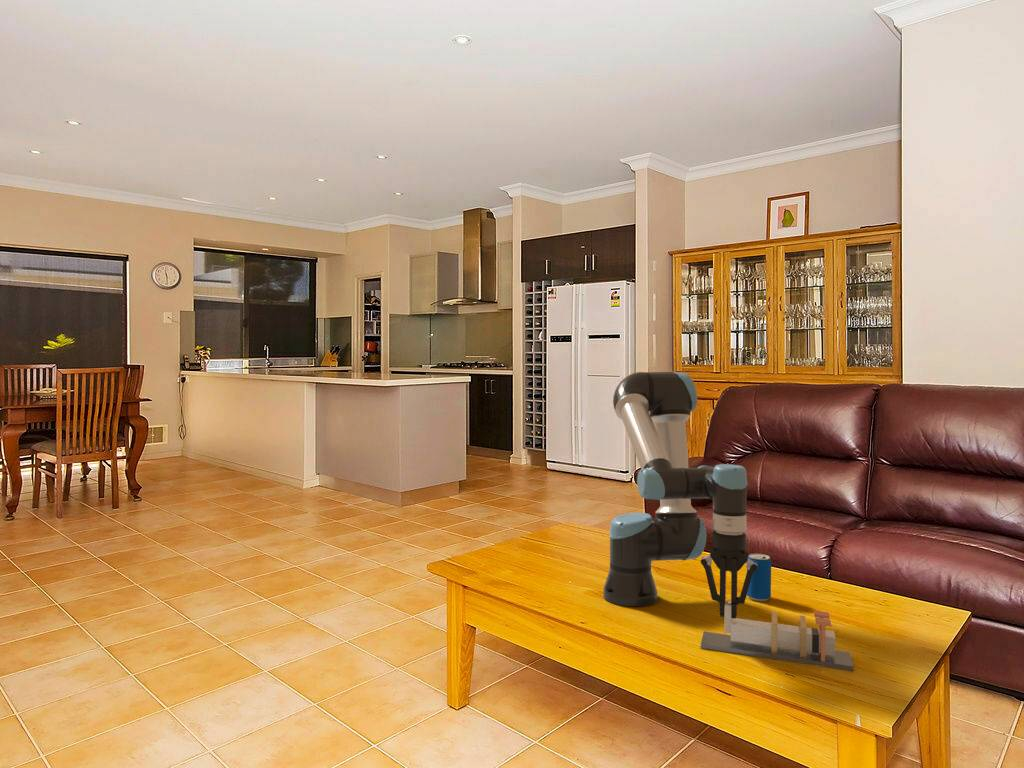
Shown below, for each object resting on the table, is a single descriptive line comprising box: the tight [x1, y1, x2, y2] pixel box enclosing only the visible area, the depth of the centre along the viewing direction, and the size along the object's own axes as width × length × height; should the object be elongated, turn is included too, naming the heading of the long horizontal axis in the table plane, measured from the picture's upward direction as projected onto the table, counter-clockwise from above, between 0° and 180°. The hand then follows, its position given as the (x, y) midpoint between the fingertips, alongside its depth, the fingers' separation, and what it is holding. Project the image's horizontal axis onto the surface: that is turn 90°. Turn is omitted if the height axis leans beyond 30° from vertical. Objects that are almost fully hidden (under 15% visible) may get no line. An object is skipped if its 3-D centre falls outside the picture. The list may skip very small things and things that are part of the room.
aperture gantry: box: [813, 610, 832, 661], centre depth 152 cm, size 3×7×9 cm, turn 159°
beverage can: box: [746, 553, 772, 602], centre depth 192 cm, size 6×6×12 cm
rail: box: [700, 611, 855, 672], centre depth 156 cm, size 32×8×8 cm, turn 69°
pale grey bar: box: [730, 617, 836, 656], centre depth 155 cm, size 22×4×4 cm, turn 69°
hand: (727, 630), depth 159 cm, fingers closed
